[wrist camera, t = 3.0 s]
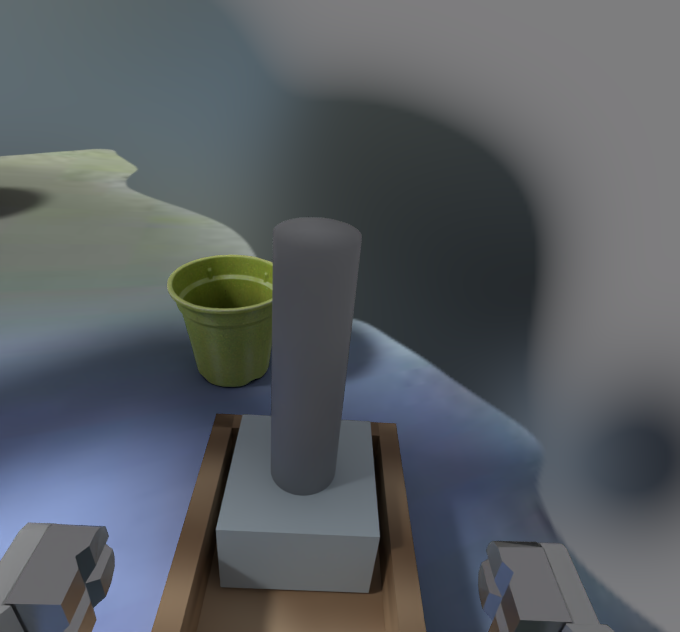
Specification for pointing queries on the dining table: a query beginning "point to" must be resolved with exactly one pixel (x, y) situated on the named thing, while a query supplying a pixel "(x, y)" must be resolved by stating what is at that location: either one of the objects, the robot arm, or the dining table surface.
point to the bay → (291, 605)
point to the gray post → (304, 434)
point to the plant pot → (227, 315)
